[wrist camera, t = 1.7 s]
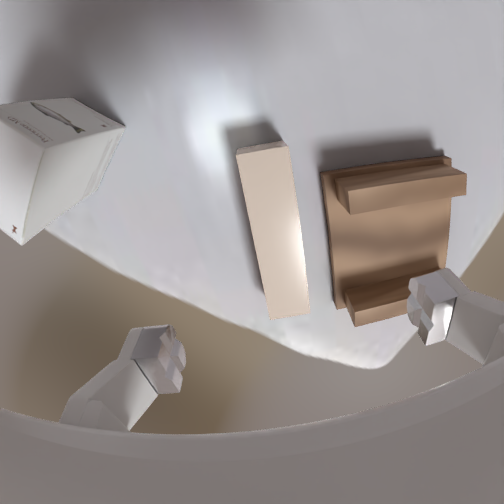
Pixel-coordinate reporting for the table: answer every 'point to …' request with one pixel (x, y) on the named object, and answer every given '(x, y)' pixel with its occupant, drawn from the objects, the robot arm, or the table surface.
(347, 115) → the table surface
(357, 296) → the ridged wooden base
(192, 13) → the table surface
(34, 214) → the supplement box
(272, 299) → the beige rectangular bar
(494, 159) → the table surface
